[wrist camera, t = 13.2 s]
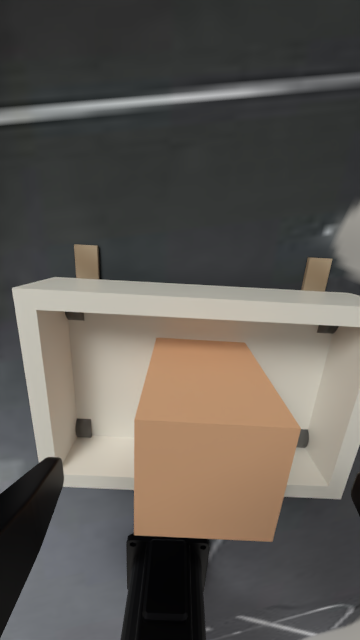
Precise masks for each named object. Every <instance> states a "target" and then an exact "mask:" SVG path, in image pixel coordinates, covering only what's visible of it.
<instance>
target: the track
mask: <svg viewBox="0 0 360 640" xmlns="http://www.w3.org/2000/svg"><path fill="white" fill-rule="evenodd" d="M74 250H75V264H76V278H82V279H100V271H99V249H98V246H93V245H74ZM331 263H332V259H326V258H308V259H307V264H306V269H305V274H304V279H303V284H302V289H301V290H302V291H321V292H325V288H326V284H327V280H328V275H329V271H330V267H331Z"/></svg>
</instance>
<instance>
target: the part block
mask: <svg viewBox="0 0 360 640" xmlns="http://www.w3.org/2000/svg"><path fill="white" fill-rule="evenodd" d="M300 431H301V428H300V426H299V425H298V423H297V421H296V420H295V418H294V417H293V415H292V414H291V412H290V411H289V409H288V408H287V406H286V405H285V403H284V402H283V400H282V398H281V397H280V395H279V394H278V392H277V391H276V389H275V388H274V386H273V385H272V383H271V382H270V380H269V379H268V377H267V375H266V374H265V372H264V371H263V369H262V368H261V366H260V365H259V363H258V362H257V360H256V359H255V357H254V356H253V354H252V352H251V351H250V349H249V348H248V346H247V345H246V343H244V342H226V341H208V340H191V339H173V338H156V341H155V345H154V349H153V352H152V356H151V360H150V363H149V367H148V371H147V375H146V378H145V382H144V386H143V389H142V393H141V397H140V401H139V404H138V408H137V412H136V415H135V419H134V535H138V536H160V537H181V538H202V539H224V540H245V541H267V542H272V541H273V537H274V533H275V529H276V525H277V521H278V517H279V514H280V510H281V506H282V502H283V498H284V494H285V490H286V486H287V482H288V478H289V474H290V470H291V466H292V462H293V458H294V454H295V450H296V446H297V443H298V439H299V435H300Z"/></svg>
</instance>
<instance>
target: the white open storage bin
mask: <svg viewBox="0 0 360 640" xmlns="http://www.w3.org/2000/svg"><path fill="white" fill-rule="evenodd" d="M12 292H13V298H14V305H15V311H16V318H17V324H18V331H19V337H20V344H21V350H22V356H23V363H24V369H25V376H26V382H27V389H28V395H29V402H30V408H31V415H32V421H33V428H34V434H35V441H36V447H37V453H38V460H39V463H40V462H41V461H42V460H43V459H45V458H47V457H59V458H61V459H62V464H63V472H64V483H63V487H80V488H102V489H125V490H134V419H135V415H136V412H137V408H138V404H139V401H140V397H141V393H142V389H143V386H144V382H145V378H146V375H147V371H148V367H149V363H150V360H151V356H152V352H153V349H154V345H155V341H156V338H173V339H191V340H208V341H226V342H244V343H246V345H247V346H248V348H249V349H250V351H251V352H252V354H253V356H254V357H255V359H256V360H257V362H258V363H259V365H260V366H261V368H262V369H263V371H264V372H265V374H266V375H267V377H268V379H269V380H270V382H271V383H272V385H273V386H274V388H275V389H276V391H277V392H278V394H279V395H280V397H281V398H282V400H283V402H284V403H285V405H286V406H287V408H288V409H289V411H290V412H291V414H292V415H293V417H294V418H295V420H296V421H297V423H298V425H299V426H300V428H301V431H300V435H299V439H298V443H297V446H296V450H295V454H294V458H293V462H292V466H291V470H290V474H289V478H288V482H287V486H286V490H285V494H284V497H302V498H324V499H341V497H342V494H343V491H344V488H345V486H346V483H347V480H348V477H349V474H350V471H351V468H352V465H353V462H354V459H355V456H356V453H357V451H358V448H359V445H360V296H358V295H355V294H351V293H339V292H321V291H302V290H284V289H266V288H247V287H229V286H210V285H192V284H174V283H155V282H137V281H118V280H100V279H82V278H63V277H53V278H49V279H45V280H41V281H38V282H34V283H30V284H26V285H22V286H18V287H14V288H12Z"/></svg>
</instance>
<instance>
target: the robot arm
mask: <svg viewBox="0 0 360 640" xmlns="http://www.w3.org/2000/svg"><path fill="white" fill-rule="evenodd" d="M63 483H64V472H63V464H62V459H61V458H59V457H47V458H45V459H43V460H42V461H41V462H40V463H38V464H37V465H36V466H35V467H33V468H32V469H31V470H30V471H28V472H27V473H26V474H25V475H23V476H22V477H21V478H20V479H18V480H17V481H16V482H15V483H13V484H12V485H11V486H10V487H8V488H7V489H6V490H5V491H3V492H2V493H1V494H0V637H1V635H2V633H3V631H4V629H5V626H6V624H7V622H8V620H9V618H10V615H11V613H12V611H13V609H14V607H15V604H16V602H17V600H18V598H19V595H20V593H21V591H22V589H23V587H24V584H25V582H26V580H27V578H28V576H29V573H30V571H31V569H32V567H33V564H34V562H35V560H36V558H37V555H38V553H39V551H40V548H41V546H42V543H43V540H44V538H45V535H46V532H47V529H48V526H49V523H50V521H51V518H52V515H53V512H54V509H55V507H56V504H57V501H58V498H59V495H60V493H61V490H62V487H63ZM351 497H352V500H353V502H354V505H355V507H356V509H357V511H358V513H359V516H360V472H359V473H358V474H357V476H356V478H355V481H354V484H353V487H352V489H351ZM208 555H209V540H208V539H202V538H181V537H160V536H138V535H134V534H131V535H129V536H128V539H127V589H128V595H127V601H126V608H125V614H124V621H123V627H122V634H121V640H206V629H205V613H204V597H203V592H204V585H205V578H206V570H207V563H208Z"/></svg>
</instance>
